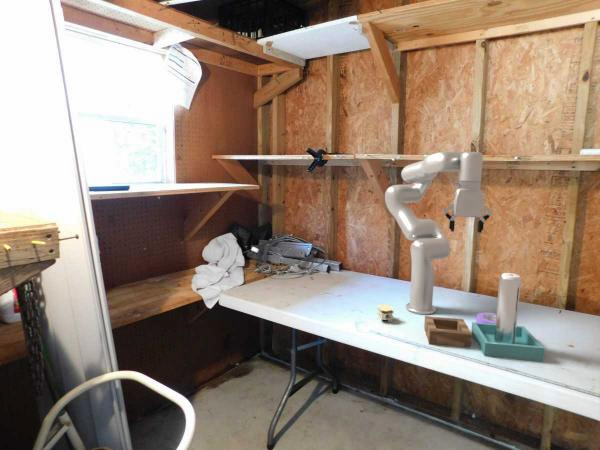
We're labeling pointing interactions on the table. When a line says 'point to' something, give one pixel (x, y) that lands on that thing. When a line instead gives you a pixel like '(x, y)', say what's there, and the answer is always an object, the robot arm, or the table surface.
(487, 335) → the tray
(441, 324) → the socket block
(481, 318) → the masking tape
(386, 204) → the robot arm
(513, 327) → the silver tall rounded column
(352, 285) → the table surface
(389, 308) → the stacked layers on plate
